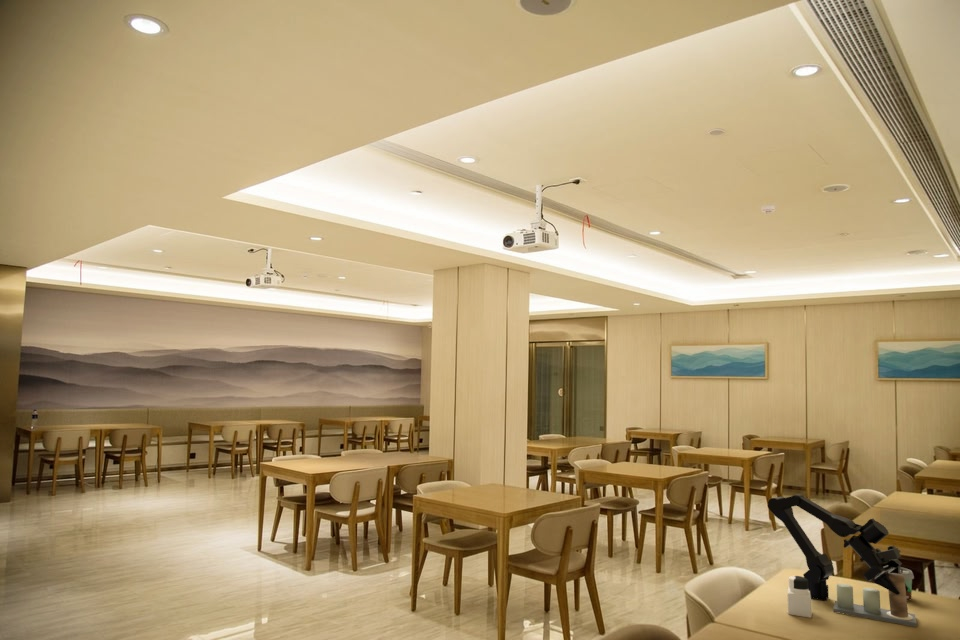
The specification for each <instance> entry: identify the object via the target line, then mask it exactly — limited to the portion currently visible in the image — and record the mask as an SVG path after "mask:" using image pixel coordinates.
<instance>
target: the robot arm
mask: <svg viewBox="0 0 960 640" xmlns="http://www.w3.org/2000/svg"><path fill="white" fill-rule="evenodd" d="M793 507H798V508H799V509H801V510H803V511H805V512H806V513H808V514H810V515H811V516H814V517H815V518H816V519H818V520H820V521H821V522H823V523H824V524H825V525H826V526H827V527H828V528H829V530H830V531H832V532H833V533H835V535H837V536H838V537H840V538H846V539H843V548H845V549H846V548H849V547H851V548H852V549H853V550H854V552H855V553H856V554H857V555H858V556H859V558H860V559H859V560H860V562H862V563H864V562H865V563H866V565H867V566H868V567H869V568H868V569H867V570H866V571H864V572H863V578H864V579H865V580H866V581H867V582H868V583H869V582H870V581H871V582H872V583H873V584H877V585H878V586H881V587H882V588H884V589H886V590H889V591H891V592H893V593H895V594H897V595H898V594H900V592H899V591H898V589H897V588H896V586H895V585H894V584H893V582H892V581H891V580H890V578H889V574H888V573H897V574H900V568H901V567H902V566H901V565H902V564H903V563H902V562H901V561H900V560H899V559H900V558H902V555H901V554H900V553H901V550H900V549H899V548H898V547H896V546H895V545H891V546H890V545H889V546H887V549H886V550H883V551H882V550H881V549H879V548H875V547H874V546H873V544H874V545H876V544H878V543H879V542H881V541H882V540H883V539H884V538H885V537H887V536H889V534H890V533H889V531H888V529H887V527H886V526H884V525H883V524H882V523H880V522H879V521H876V520H875V519H874V518H870V519H868V520H867V522H866V523H864V524H863V525H861V524H858V523H856V522H855V521H853V520H852V519H850V518H847V517H844V516H841V515H839V514H835V513H833V512H831V511H830V510H827V509H826V508H824V507H822V506H821V505H819V504H817V503H816V502H814V501H812V500H810V499H808V497H806V496H804V495H803V494H800V493H799V494H793V495H792V496H786V497H784V496H778V497H771V498H770V499H769V500H768V501H767V508H768V510H769V512H771V513H772V515H773V516H774V517H775V518H777V519H778V520H779V521H781V522H782V523H783V525H784V526H785V528H786V529H787V531H788V532H789V534H790V535H791V538H792V539H793V540H794V542H795V543H796V544H797V546H798V547H799V549H800V551H801V552H802V554H803V555H804V557H805V562H806V566H807V568H808V570H807V571H806V572H805V573H803V574H802V575H803V576H802V577H804V578H806V579H807V580H808V589H809V591H810V595H811V599H813V600H814V599H815V600H819V601H820V600H821V601H827V600H828V598H829V596H830V595H829V584H827V581H828V580H829V578H830V577H831V576H832V575H833V573H834V566H833V564H834V563H833V562H832V561H831V560H830V558H829V557H828V554H826V553H825V552H824V553H820V552H819V551H818V550H817V548H816V547H815V546H814V544H813V542H812V541H811V540H810V538H809V537H808V536H807V533H806V532H805V531H804V529H803V528H802V527H801V525H800V524H799V522H798V521H797V519H796V518H795V515H794V510H793ZM857 534H858V535H857ZM850 536H851V537H850ZM847 537H850V538H847ZM905 589H906V591H907V590H908V587H907V585H906V583H905ZM889 591H888V592H889Z"/></svg>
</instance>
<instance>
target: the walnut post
mask: <svg viewBox="0 0 960 640" xmlns="http://www.w3.org/2000/svg"><path fill="white" fill-rule="evenodd" d="M888 574H889V578H890V580H891V581H892V582H893V584H894V585H895V586H896V588H897V589H898V591H899V592H900V594H898V595H897V594H895V593H893V592H891V591H889V590H888V589H887V590H888V599H889V610H890V611H891V615H893V616H897V617H908V613H909V610H908V601H907V598H906V589H905V579H904V575H902V574H897V573H888Z"/></svg>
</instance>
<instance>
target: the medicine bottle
mask: <svg viewBox="0 0 960 640" xmlns="http://www.w3.org/2000/svg"><path fill="white" fill-rule="evenodd" d="M786 593H787V613H788V615H791V616H796V617H797V616H798V617H804V618H812V616H813V615H812V598H811V595H810V591H809V589H808V580H807V579H806V578H804V576H801V575H791V576H789V577H788V587H787V592H786Z"/></svg>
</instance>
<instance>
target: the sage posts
mask: <svg viewBox="0 0 960 640" xmlns="http://www.w3.org/2000/svg"><path fill="white" fill-rule="evenodd" d="M836 601H837V606H839V607H841V608H845V609H853V608H854V604H855V603H854V587H853V586H852V585H849V584H847V583H846V584H845V583H838V584H837V583H836ZM862 601H863V602H862V603H863V604H862V605H863V606H864V611H866V612H869V613H874V614H879V613H881V610H880V608H881V591H880V590H879V589H876V588H872V587H863V588H862Z"/></svg>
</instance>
